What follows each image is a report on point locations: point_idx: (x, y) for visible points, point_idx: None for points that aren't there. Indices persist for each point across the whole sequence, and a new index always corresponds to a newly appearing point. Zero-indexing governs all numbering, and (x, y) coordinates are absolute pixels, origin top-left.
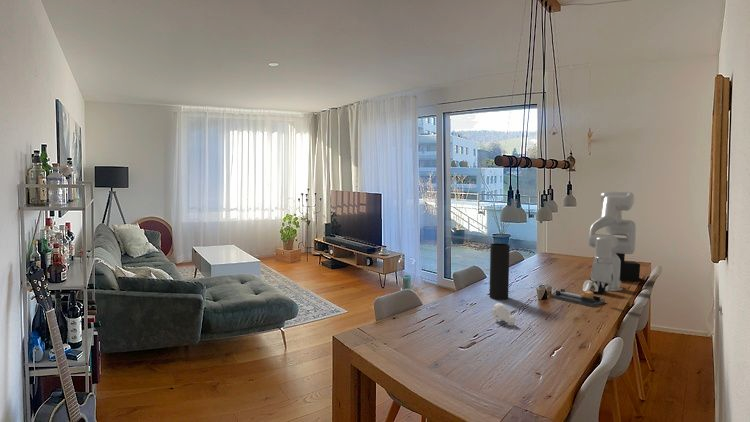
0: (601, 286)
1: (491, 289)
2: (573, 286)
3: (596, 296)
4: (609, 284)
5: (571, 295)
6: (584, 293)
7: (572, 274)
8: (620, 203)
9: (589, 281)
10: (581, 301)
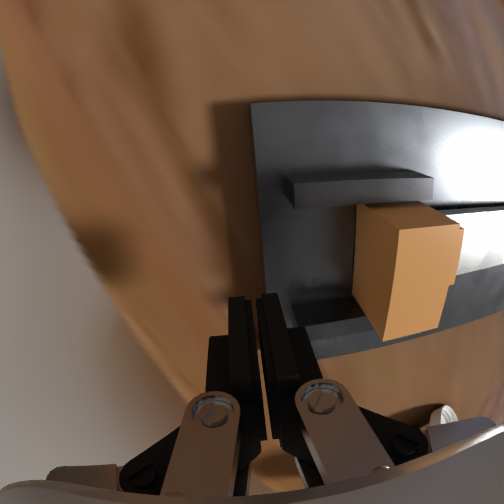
0: (279, 425)
1: None
2: (483, 410)
3: (335, 328)
4: (89, 479)
5: (502, 207)
6: (442, 221)
7: None
8: None
9: None
10: (390, 114)
